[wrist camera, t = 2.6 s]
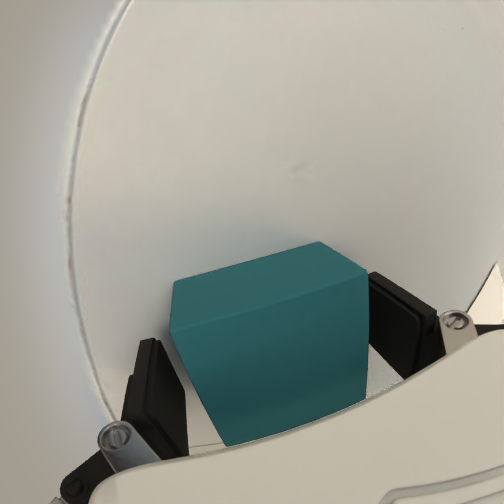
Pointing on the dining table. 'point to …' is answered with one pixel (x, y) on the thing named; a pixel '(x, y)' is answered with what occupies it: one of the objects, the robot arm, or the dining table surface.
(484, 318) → the coaster
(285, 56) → the dining table surface
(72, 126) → the dining table surface
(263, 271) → the teal block
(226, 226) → the dining table surface
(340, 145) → the dining table surface
